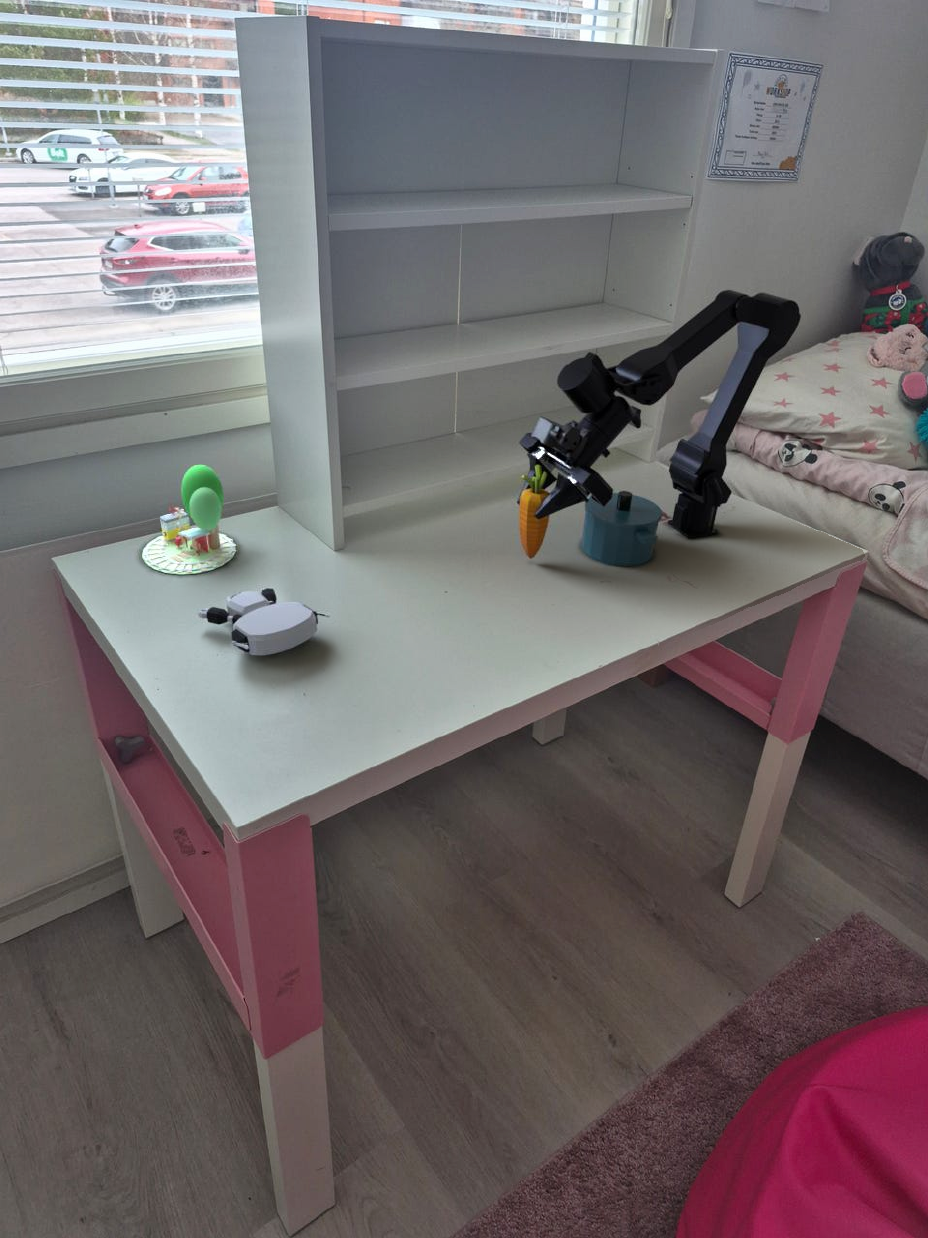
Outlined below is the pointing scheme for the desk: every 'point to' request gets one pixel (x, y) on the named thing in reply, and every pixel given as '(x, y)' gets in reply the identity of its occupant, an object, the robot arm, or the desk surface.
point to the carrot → (529, 504)
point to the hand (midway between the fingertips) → (527, 510)
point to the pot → (618, 542)
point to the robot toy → (265, 622)
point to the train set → (197, 545)
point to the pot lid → (625, 511)
